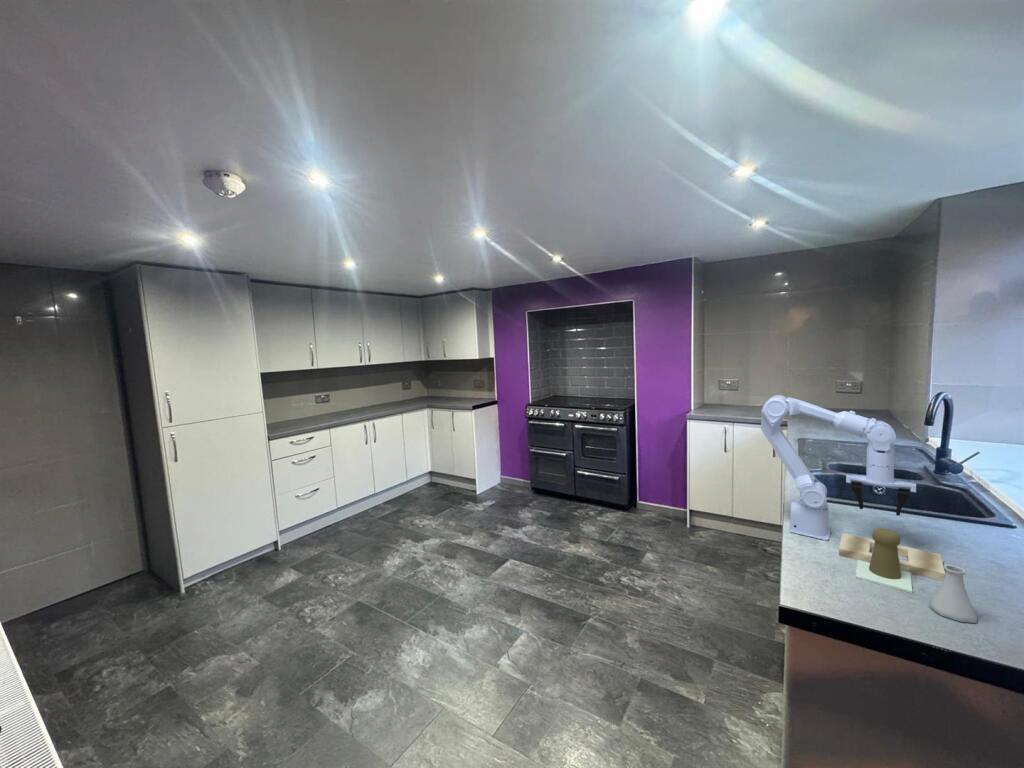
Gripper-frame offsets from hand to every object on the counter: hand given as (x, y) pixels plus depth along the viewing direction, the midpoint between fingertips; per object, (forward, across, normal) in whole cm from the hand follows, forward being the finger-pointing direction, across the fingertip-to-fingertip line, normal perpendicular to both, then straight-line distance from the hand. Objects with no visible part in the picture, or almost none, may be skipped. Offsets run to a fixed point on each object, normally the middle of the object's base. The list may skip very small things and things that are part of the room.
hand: (879, 511), depth 114 cm
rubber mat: (+10, -1, +19) cm, 22 cm away
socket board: (+10, -2, +7) cm, 13 cm away
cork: (+10, -2, +18) cm, 20 cm away
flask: (+11, -13, +28) cm, 32 cm away
